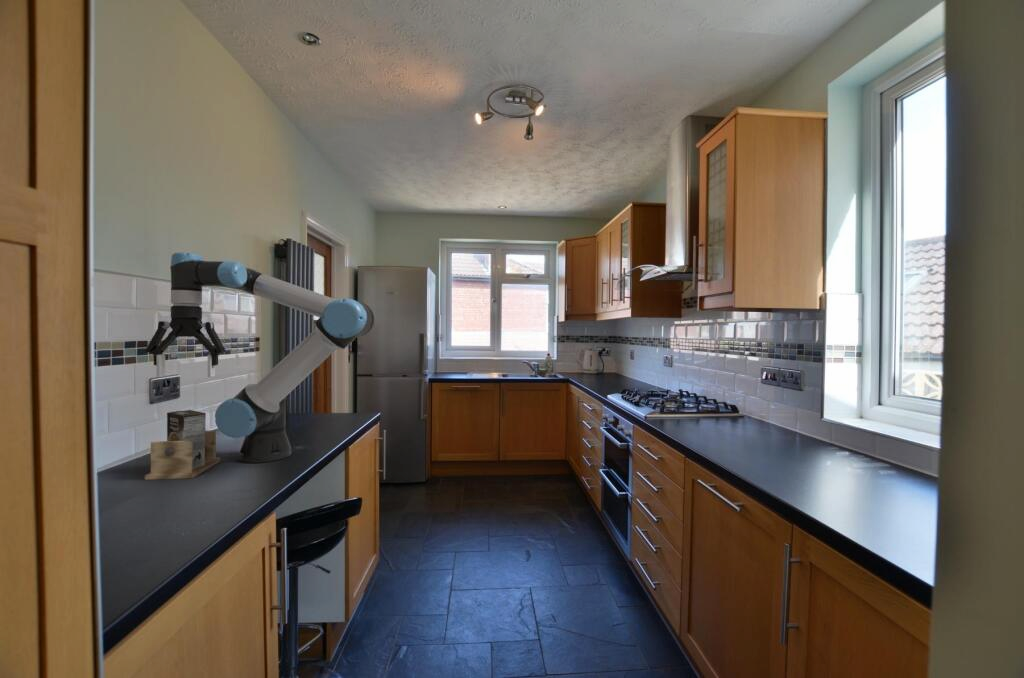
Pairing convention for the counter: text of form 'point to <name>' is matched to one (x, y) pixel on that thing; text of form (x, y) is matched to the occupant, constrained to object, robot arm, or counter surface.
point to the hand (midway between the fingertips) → (186, 376)
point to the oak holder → (180, 458)
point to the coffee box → (188, 432)
